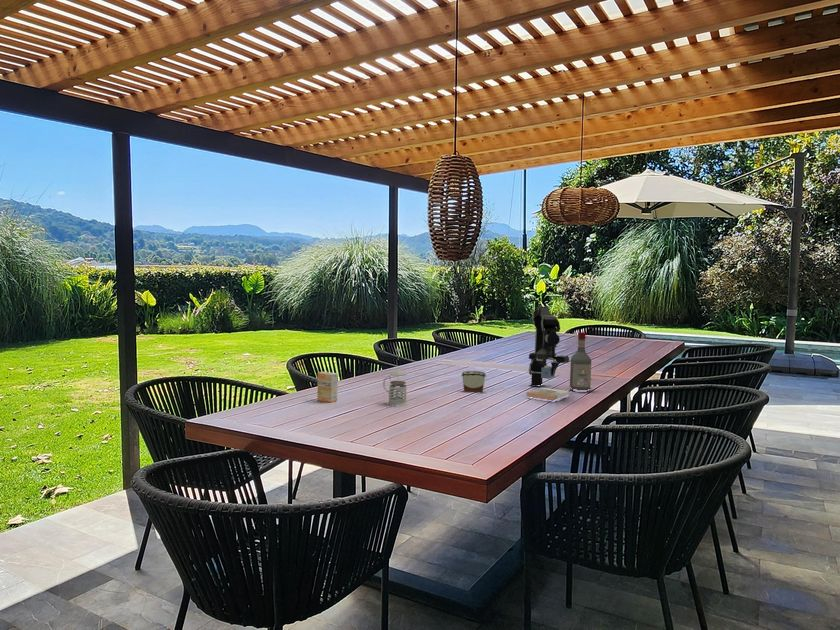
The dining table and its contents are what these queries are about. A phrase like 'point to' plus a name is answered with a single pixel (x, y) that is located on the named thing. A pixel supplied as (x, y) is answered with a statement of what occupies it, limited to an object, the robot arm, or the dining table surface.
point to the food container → (473, 381)
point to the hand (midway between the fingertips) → (548, 375)
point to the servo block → (547, 372)
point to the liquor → (580, 366)
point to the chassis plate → (547, 393)
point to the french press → (397, 388)
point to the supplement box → (327, 386)
